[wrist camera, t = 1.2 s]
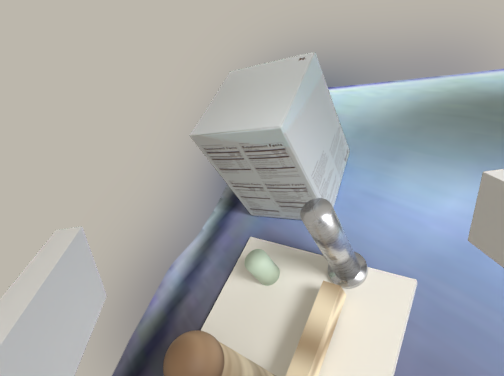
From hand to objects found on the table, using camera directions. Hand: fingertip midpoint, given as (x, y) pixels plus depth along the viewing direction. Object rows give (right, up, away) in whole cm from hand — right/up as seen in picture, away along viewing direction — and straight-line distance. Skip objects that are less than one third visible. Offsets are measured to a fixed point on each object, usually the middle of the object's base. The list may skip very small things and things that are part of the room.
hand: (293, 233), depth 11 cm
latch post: (+1, -10, +31) cm, 32 cm away
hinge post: (+10, -8, +27) cm, 29 cm away
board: (+3, -15, +26) cm, 30 cm away
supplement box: (+6, +2, +40) cm, 40 cm away
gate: (+5, -16, +22) cm, 28 cm away
